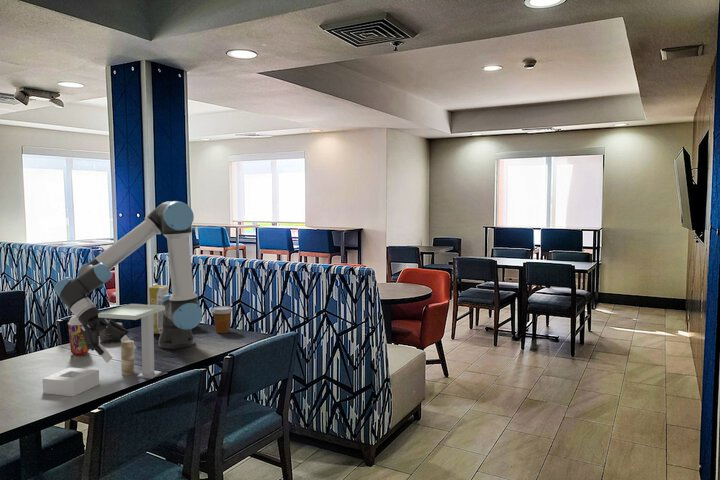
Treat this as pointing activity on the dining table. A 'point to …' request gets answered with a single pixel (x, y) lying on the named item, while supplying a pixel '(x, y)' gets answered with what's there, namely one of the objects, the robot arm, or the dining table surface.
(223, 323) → the disposable coffee cup
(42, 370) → the dining table surface
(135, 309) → the white pedestal side table
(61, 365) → the dining table surface
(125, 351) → the peg
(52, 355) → the dining table surface
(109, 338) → the jar
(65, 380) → the socket
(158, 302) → the juice carton
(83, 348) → the smoothie
